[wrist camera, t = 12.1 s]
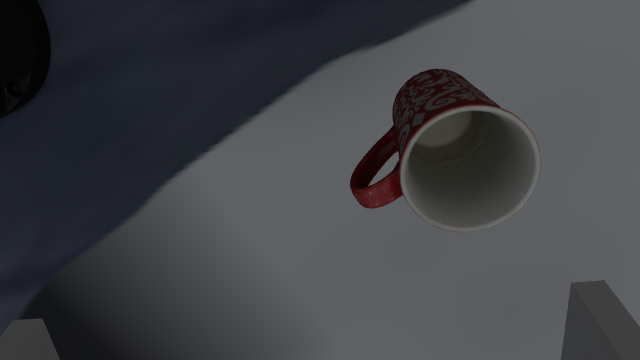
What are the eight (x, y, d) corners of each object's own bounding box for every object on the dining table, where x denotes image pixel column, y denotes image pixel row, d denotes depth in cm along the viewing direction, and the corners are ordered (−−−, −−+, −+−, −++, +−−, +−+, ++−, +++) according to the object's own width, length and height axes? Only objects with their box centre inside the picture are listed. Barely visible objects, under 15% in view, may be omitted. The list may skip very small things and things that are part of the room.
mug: (469, 38, 43) (521, 82, 31) (499, 133, 47) (556, 206, 34) (328, 97, 46) (325, 159, 34) (367, 183, 49) (376, 267, 37)
